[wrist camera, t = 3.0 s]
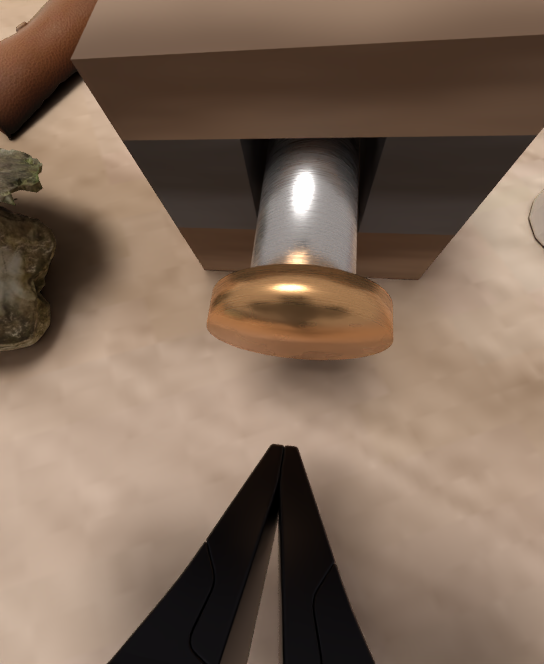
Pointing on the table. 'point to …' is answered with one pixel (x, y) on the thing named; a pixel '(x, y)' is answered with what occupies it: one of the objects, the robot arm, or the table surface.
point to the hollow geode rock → (22, 257)
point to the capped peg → (305, 263)
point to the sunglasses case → (39, 59)
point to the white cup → (538, 217)
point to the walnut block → (320, 108)
